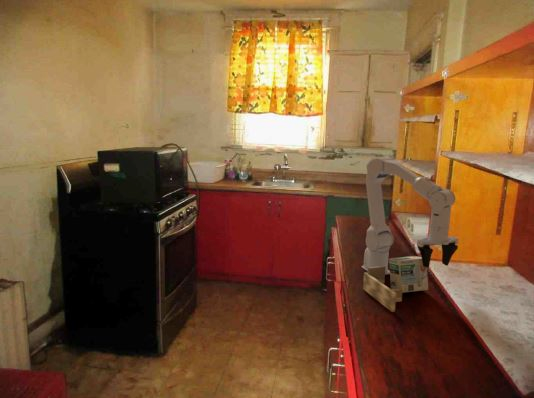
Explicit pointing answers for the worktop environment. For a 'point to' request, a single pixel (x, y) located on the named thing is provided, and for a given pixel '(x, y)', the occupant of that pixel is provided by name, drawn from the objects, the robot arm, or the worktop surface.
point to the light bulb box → (408, 274)
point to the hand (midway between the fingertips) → (435, 265)
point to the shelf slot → (381, 287)
